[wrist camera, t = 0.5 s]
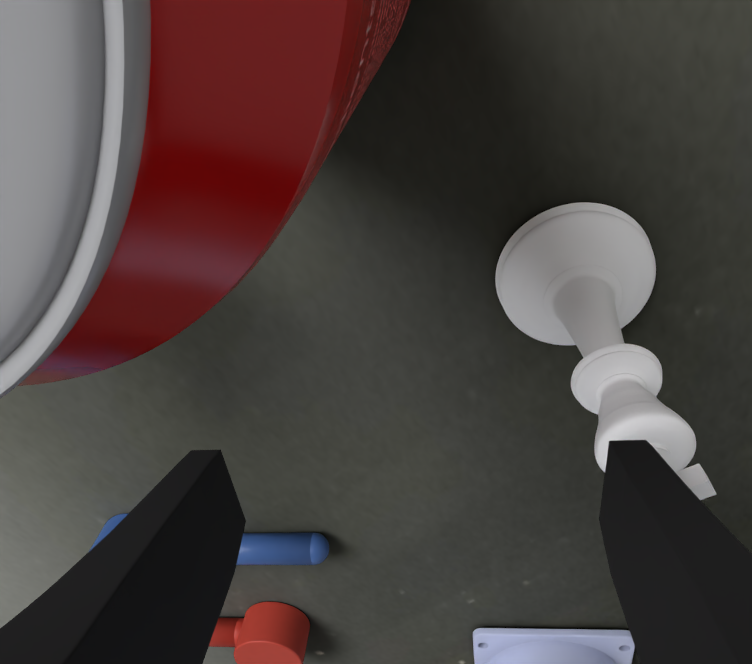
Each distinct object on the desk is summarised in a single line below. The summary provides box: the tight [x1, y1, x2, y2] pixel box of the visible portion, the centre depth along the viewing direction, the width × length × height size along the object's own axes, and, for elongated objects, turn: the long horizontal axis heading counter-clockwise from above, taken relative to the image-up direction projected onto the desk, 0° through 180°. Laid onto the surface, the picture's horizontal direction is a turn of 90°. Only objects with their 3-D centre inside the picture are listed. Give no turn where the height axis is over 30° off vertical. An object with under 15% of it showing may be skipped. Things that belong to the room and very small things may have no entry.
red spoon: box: [209, 602, 310, 664], centre depth 31 cm, size 12×4×2 cm, turn 97°
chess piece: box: [495, 202, 717, 500], centre depth 15 cm, size 5×5×10 cm
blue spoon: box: [90, 514, 329, 565], centre depth 27 cm, size 12×4×2 cm, turn 97°
